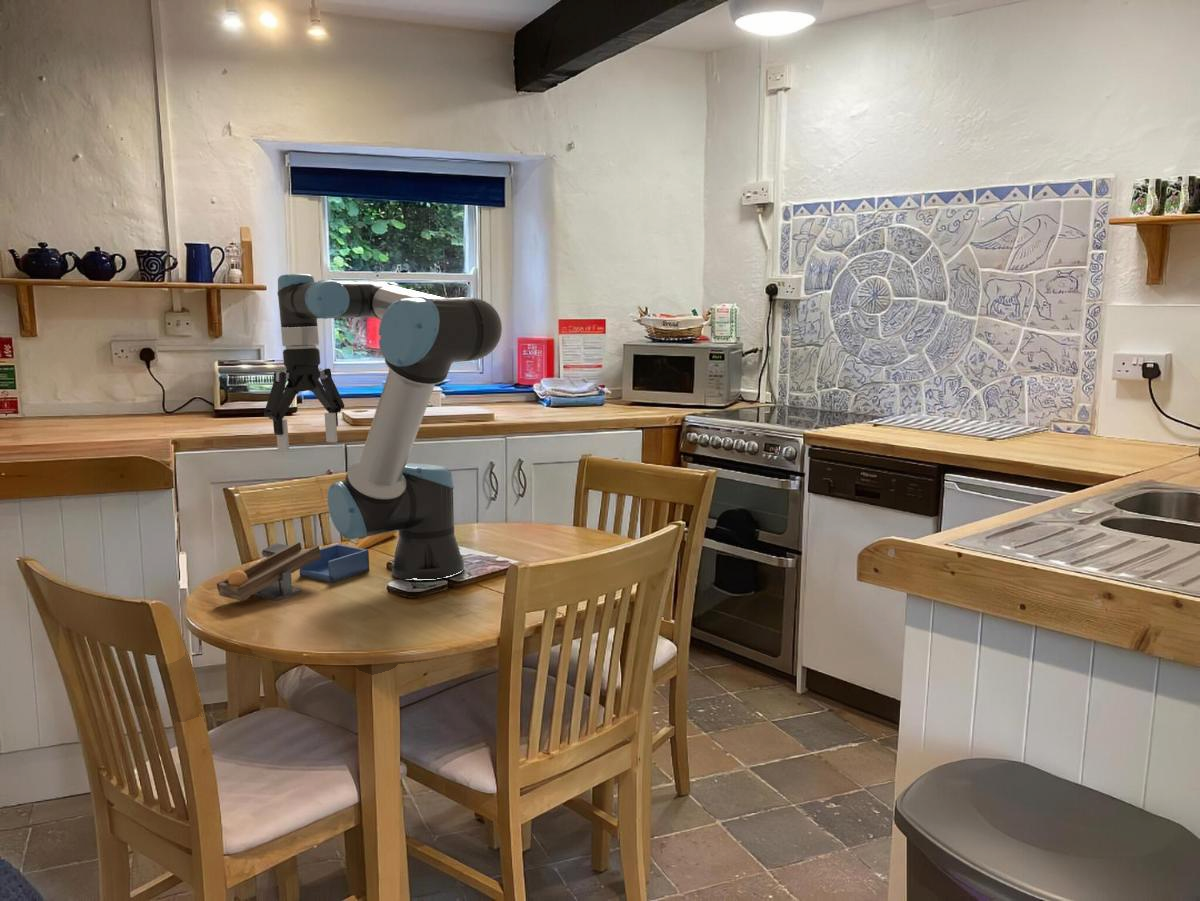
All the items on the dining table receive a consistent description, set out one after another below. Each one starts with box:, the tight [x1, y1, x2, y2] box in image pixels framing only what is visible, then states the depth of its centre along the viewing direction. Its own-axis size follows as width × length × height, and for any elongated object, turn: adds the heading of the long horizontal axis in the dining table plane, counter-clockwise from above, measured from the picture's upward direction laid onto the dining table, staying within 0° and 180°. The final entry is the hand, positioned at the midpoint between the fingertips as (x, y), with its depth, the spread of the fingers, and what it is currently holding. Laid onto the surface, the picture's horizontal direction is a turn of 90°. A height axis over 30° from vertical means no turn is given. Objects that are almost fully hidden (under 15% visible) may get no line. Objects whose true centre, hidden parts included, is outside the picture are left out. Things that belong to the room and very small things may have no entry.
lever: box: [216, 541, 321, 602], centre depth 189 cm, size 14×20×2 cm
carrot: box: [355, 530, 397, 550], centre depth 225 cm, size 20×4×4 cm, turn 164°
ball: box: [227, 569, 248, 586], centre depth 181 cm, size 4×4×4 cm
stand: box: [252, 571, 302, 602], centre depth 188 cm, size 10×6×5 cm, turn 57°
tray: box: [299, 543, 370, 584], centre depth 201 cm, size 10×11×4 cm
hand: (308, 446), depth 205 cm, fingers open, 13 cm apart
